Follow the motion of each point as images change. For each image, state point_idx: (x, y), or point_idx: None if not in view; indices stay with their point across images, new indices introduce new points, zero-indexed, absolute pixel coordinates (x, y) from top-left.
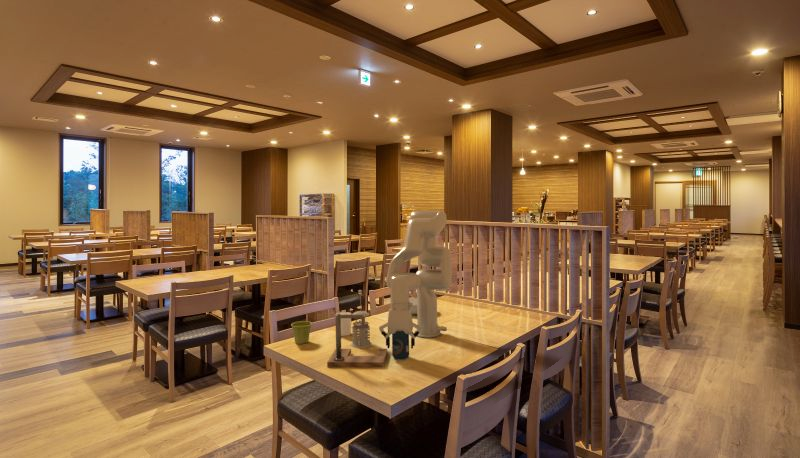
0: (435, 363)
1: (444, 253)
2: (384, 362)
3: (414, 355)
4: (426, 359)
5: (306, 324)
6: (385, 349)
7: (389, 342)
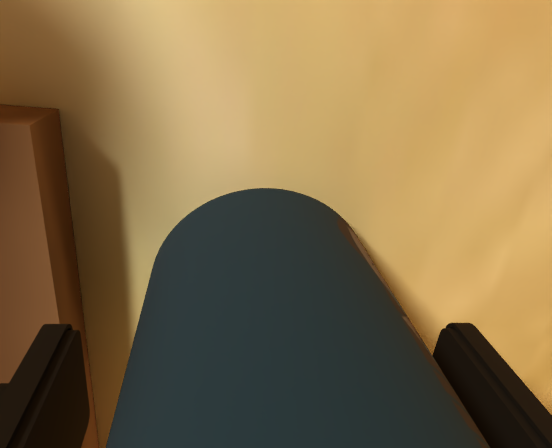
0: (545, 386)
1: None
2: (91, 437)
3: (425, 197)
4: (509, 309)
5: None
6: (3, 157)
7: (59, 444)
